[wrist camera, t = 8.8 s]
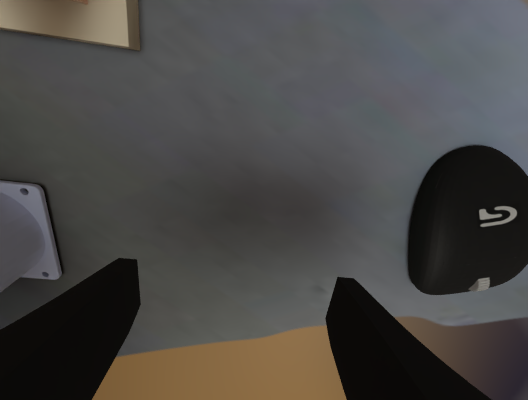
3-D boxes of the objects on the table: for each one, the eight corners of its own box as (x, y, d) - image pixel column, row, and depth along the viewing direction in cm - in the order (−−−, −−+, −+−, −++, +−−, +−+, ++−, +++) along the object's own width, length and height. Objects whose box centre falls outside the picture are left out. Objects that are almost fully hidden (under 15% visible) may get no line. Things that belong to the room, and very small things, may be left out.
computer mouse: (519, 134, 18) (588, 146, 14) (489, 273, 22) (535, 309, 19) (408, 153, 18) (446, 170, 14) (401, 286, 23) (429, 325, 19)
